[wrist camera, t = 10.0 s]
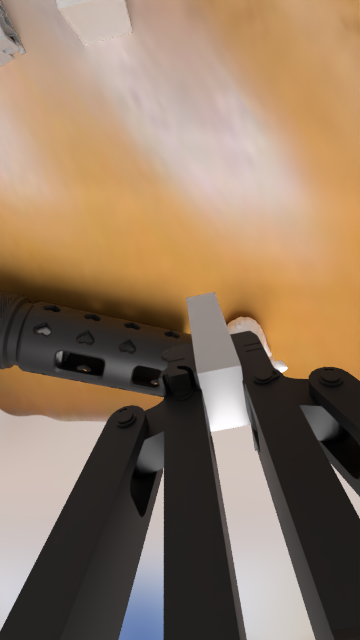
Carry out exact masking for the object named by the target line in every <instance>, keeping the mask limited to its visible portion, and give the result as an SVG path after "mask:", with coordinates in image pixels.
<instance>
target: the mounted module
mask: <svg viewBox="0 0 360 640" xmlns="http://www.w3.org/2000/svg"><path fill="white" fill-rule="evenodd" d="M56 4H57V7H58V10H59V11H60V13H61V14H62V15H63V17H64V18H65V19H66V21H67V22H68V24H69V25H70V26H71V28H72V29H73V30H74V32H75V33H76V34H77V36H78V37H79V39H80V40H81V41H82V43H83V44H84V45H88V44H92V43H96V42H100V41H104V40H107V39H111V38H115V37H119V36H122V35H126V34H130V33H133V31H132V26H131V22H130V17H129V12H128V8H127V3H126V0H56Z"/></svg>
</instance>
